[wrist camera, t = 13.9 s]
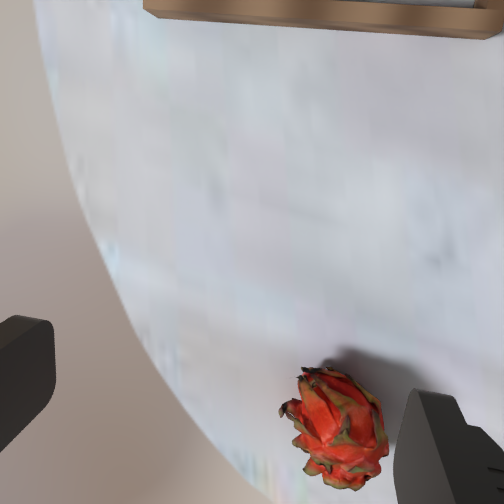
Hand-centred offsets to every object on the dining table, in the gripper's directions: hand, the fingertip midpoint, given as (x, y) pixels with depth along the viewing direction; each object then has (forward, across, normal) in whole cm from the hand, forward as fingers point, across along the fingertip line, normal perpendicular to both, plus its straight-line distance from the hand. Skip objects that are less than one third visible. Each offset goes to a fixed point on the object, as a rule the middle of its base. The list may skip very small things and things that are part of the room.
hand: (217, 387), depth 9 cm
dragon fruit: (+28, -6, +19) cm, 34 cm away
